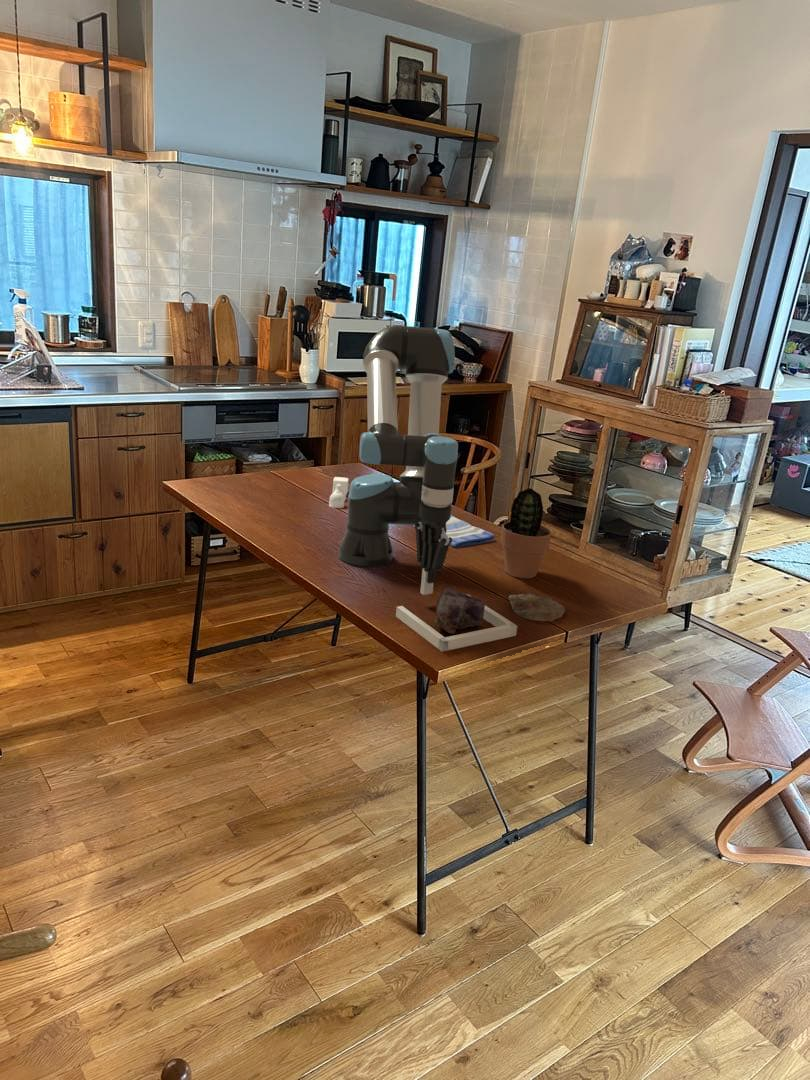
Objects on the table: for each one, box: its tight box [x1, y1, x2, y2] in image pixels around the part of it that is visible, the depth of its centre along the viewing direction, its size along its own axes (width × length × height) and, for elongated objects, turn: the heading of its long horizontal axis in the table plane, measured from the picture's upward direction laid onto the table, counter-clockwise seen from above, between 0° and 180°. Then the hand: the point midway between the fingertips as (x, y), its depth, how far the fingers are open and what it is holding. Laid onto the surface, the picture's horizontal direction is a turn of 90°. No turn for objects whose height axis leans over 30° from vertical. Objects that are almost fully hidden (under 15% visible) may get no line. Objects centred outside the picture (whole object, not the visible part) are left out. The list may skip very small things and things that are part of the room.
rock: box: [434, 587, 486, 634], centre depth 191 cm, size 12×9×10 cm
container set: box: [328, 476, 349, 509], centre depth 280 cm, size 20×5×6 cm, turn 0°
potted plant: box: [500, 487, 553, 579], centre depth 225 cm, size 14×14×25 cm
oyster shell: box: [508, 590, 566, 622], centre depth 203 cm, size 11×15×6 cm
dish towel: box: [410, 514, 496, 548], centre depth 257 cm, size 17×24×3 cm
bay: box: [395, 594, 518, 653], centre depth 192 cm, size 20×21×2 cm
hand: (426, 592), depth 202 cm, fingers closed
